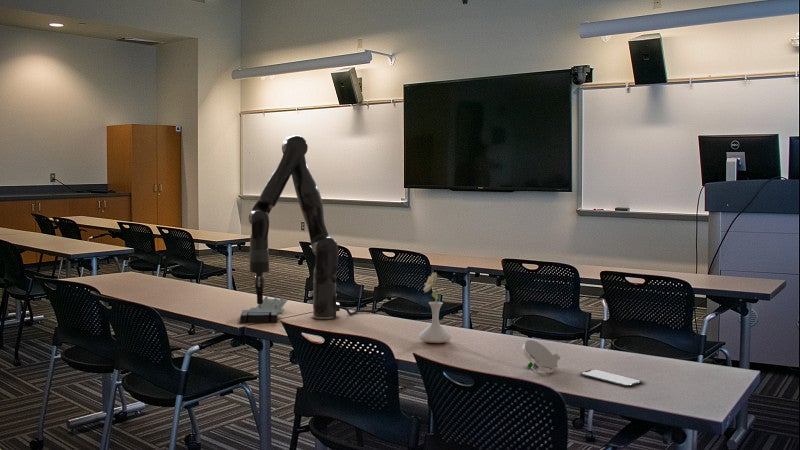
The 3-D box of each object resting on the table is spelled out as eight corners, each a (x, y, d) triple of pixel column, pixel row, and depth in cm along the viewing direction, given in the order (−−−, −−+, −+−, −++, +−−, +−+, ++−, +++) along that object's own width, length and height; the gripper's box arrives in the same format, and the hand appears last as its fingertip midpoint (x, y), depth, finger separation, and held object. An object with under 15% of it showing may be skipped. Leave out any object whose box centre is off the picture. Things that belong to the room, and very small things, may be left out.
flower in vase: (421, 337, 257) (422, 268, 255) (452, 339, 255) (454, 269, 253) (415, 345, 244) (416, 272, 242) (449, 347, 242) (450, 274, 240)
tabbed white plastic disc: (545, 374, 205) (527, 339, 208) (523, 385, 209) (506, 349, 212) (566, 364, 217) (549, 331, 220) (545, 374, 221) (529, 341, 224)
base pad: (277, 316, 292) (277, 309, 292) (276, 322, 280) (276, 315, 280) (242, 317, 290) (242, 310, 290) (240, 323, 278) (240, 315, 278)
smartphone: (643, 382, 202) (594, 370, 214) (643, 380, 202) (594, 368, 214) (628, 387, 196) (578, 374, 208) (628, 385, 196) (578, 372, 208)
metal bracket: (259, 293, 313) (292, 295, 310) (261, 305, 315) (293, 307, 312) (247, 308, 300) (280, 310, 297) (248, 320, 302) (282, 322, 299)
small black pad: (269, 320, 285) (269, 312, 285) (268, 322, 280) (268, 314, 280) (248, 320, 284) (248, 312, 284) (247, 322, 279) (247, 315, 279)
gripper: (268, 261, 275) (269, 306, 276) (269, 258, 288) (270, 300, 289) (248, 262, 274) (249, 307, 275) (250, 258, 287) (251, 301, 288)
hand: (260, 303), depth 282 cm, fingers closed
